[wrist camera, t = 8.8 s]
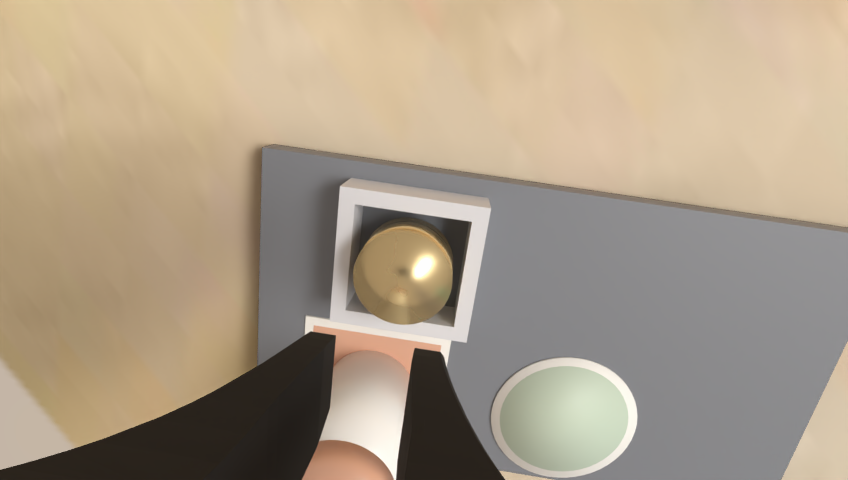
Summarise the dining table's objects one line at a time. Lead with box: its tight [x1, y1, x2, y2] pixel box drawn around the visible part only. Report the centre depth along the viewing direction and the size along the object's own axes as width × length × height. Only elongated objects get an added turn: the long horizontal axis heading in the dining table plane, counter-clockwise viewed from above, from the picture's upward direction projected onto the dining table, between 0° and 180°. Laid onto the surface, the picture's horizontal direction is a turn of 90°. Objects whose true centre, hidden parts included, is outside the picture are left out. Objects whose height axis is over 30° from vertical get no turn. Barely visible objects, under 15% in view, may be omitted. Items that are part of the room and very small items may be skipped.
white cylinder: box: [302, 350, 410, 480], centre depth 18 cm, size 4×4×7 cm
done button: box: [353, 217, 453, 325], centre depth 17 cm, size 4×4×2 cm
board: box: [257, 144, 848, 480], centre depth 20 cm, size 14×25×3 cm, turn 82°
